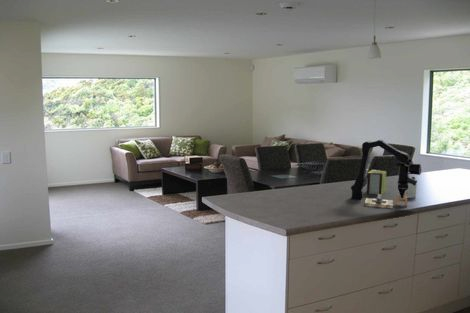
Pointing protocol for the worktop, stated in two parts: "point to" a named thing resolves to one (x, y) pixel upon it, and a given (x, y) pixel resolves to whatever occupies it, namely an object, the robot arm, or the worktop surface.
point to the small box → (410, 191)
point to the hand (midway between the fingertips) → (401, 196)
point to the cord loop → (401, 199)
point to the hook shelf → (384, 203)
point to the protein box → (376, 182)
